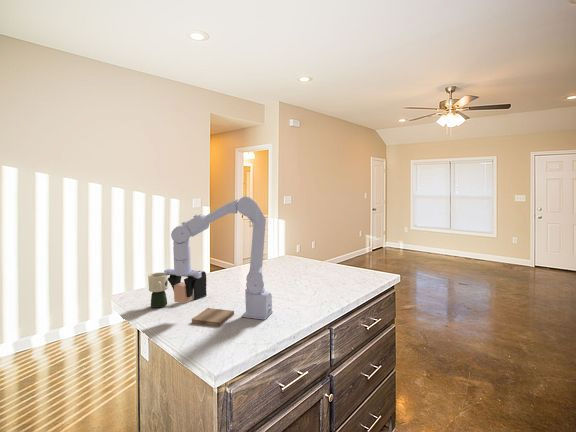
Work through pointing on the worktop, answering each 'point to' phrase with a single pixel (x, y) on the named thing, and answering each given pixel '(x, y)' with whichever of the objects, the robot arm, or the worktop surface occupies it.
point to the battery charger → (200, 287)
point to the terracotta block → (181, 293)
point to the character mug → (158, 289)
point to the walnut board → (213, 317)
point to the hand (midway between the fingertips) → (183, 295)
